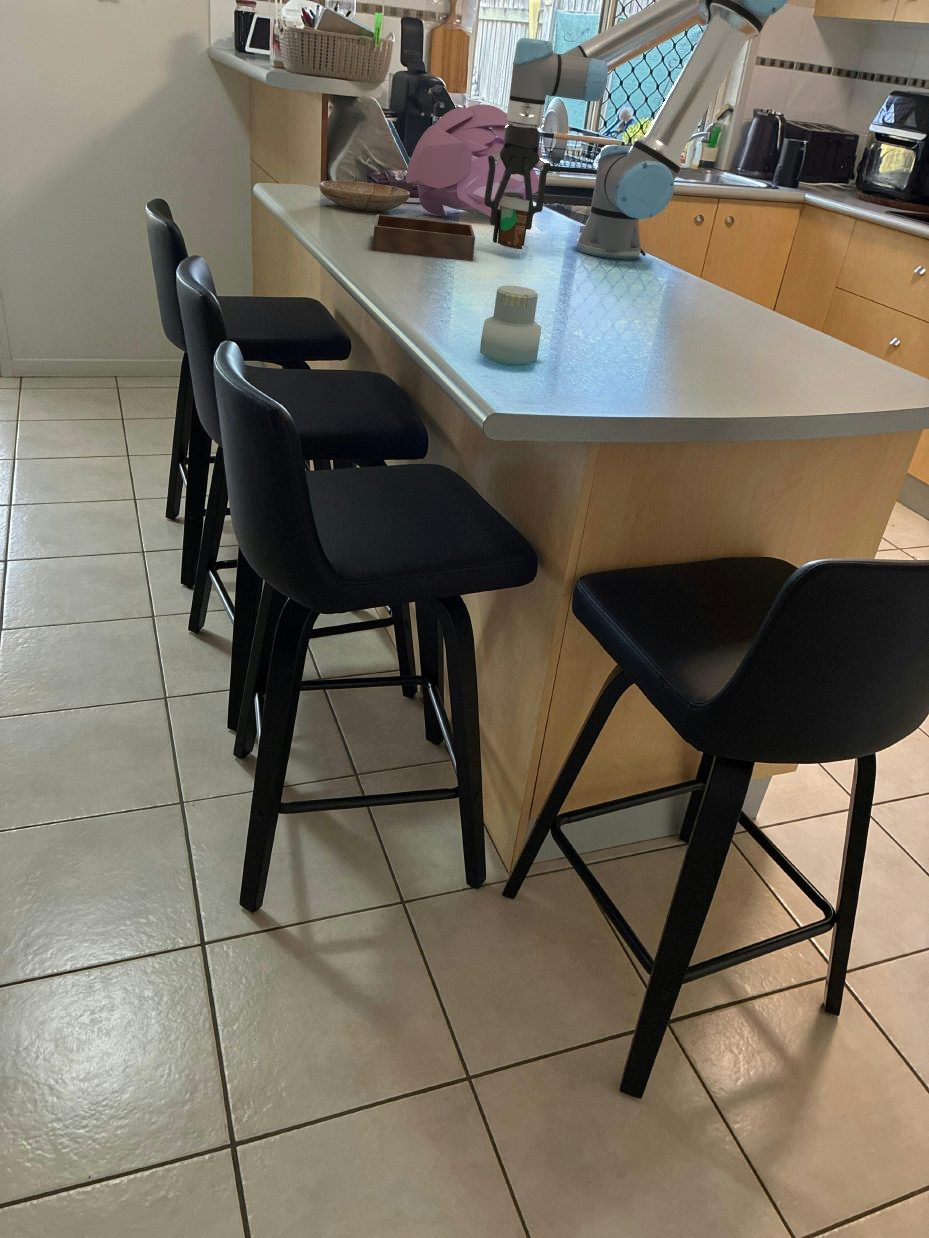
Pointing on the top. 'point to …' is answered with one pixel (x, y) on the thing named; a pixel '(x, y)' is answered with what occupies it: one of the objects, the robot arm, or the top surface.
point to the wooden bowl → (364, 195)
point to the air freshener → (512, 327)
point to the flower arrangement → (462, 161)
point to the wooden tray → (423, 237)
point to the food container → (512, 219)
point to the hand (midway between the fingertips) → (508, 243)
